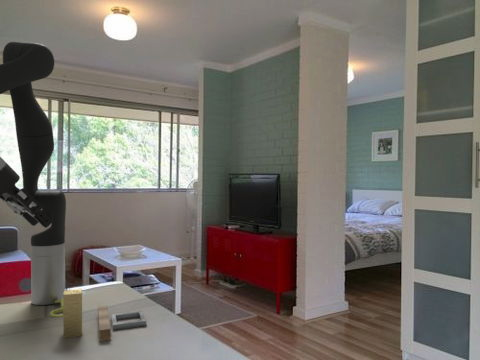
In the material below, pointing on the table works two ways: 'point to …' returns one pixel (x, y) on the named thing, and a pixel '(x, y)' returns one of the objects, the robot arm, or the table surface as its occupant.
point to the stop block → (72, 313)
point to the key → (53, 313)
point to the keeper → (128, 324)
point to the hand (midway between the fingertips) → (42, 224)
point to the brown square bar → (104, 323)
